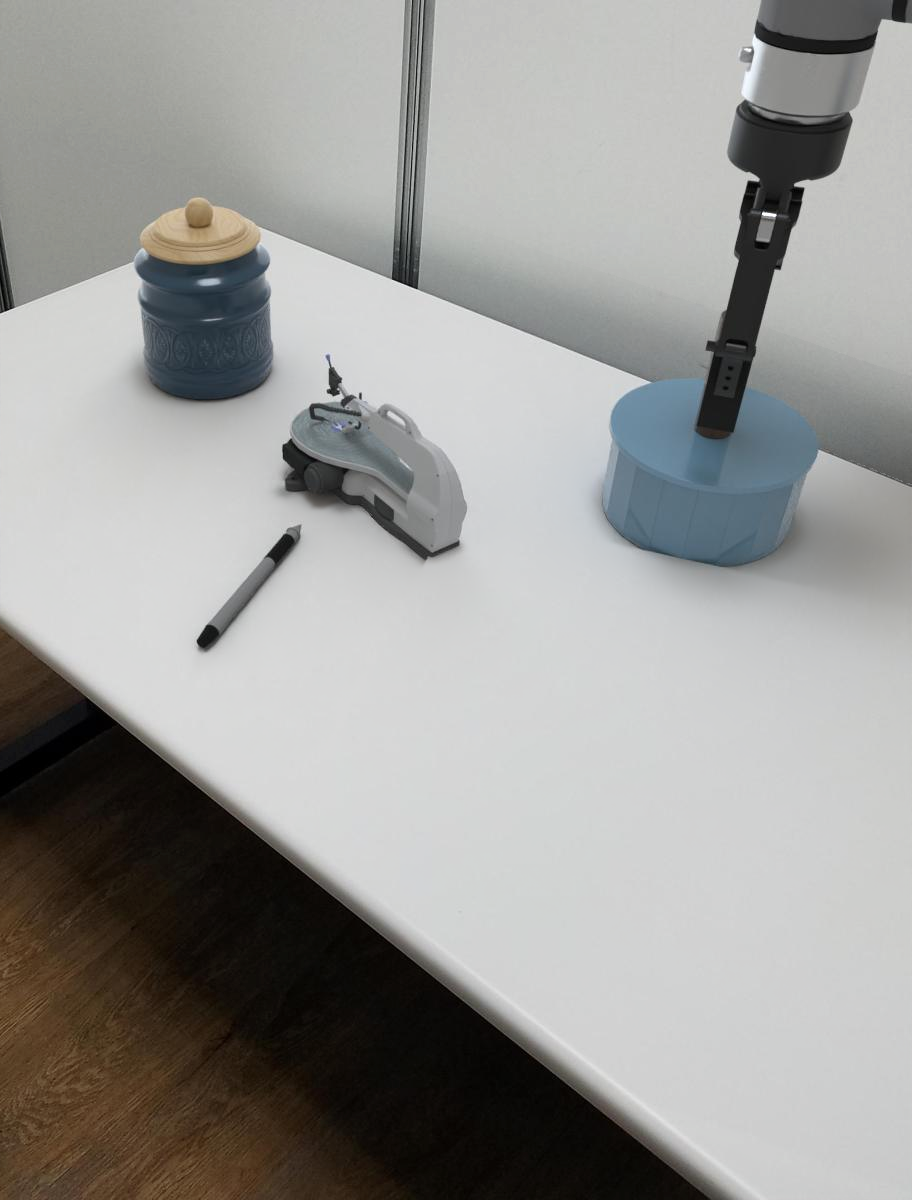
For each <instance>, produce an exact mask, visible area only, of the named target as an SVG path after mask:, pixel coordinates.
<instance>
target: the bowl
mask: <svg viewBox="0 0 912 1200" xmlns="http://www.w3.org/2000/svg"><path fill="white" fill-rule="evenodd" d="M807 475H808V473H807V474H806V475H805V476H803V477H802V478H801V479H799V480H798V481H796V482H794V483H792V484H790V485H788V486H785V487H782V488H780V489H776V490H772V491H768V492H761V493H753V494H723V493H712V492H706V491H700V490H695V489H691V488H687V487H683V486H680V485H677V484H673V483H670V482H668V481H665V480H663V479H660V478H658V477H656V476H654V475H652V474H650V473H648V472H646V471H644V470H643V469H641V468H640V467H638V466H636V465H635V464H634V463H632V462H631V461H630V460H629V459H627V458H626V457H625V456H624V455H623V454H622V453H621V452H620V450H619V449H618V448H617V446H616V445H615V443H614V441H613V439H612V438H611V445H610V449H609V454H608V461H607V465H606V471H605V476H604V482H603V487H602V491H601V499H602V501H601V502H602V503H601V504H602V508H603V512H604V514H605V516H606V519H607V520H608V522H609V523H610V525H611V526H612V527H613V528H614V530H616V532H618V534H620V535H621V536H622V537H623V538H624V539H625V540H627V541H629V542H630V543H631V544H633V545H634V546H635V547H637V548H640V549H641V550H643V551H646V552H650V553H656V554H660V555H665V556H669V557H673V558H677V559H682V560H686V561H687V560H688V561H692V562H696V563H701V564H706V565H710V566H714V567H732V566H740V565H744V564H748V563H753V562H755V561H757V560H760V559H762V558H764V557H767V556H768V555H770V554H771V553H772V552H774V551H775V550H777V549H778V548H779V546H780V545H782V543H783V541H784V540H785V538H786V536H787V535H788V533H789V532H790V531H789V530H790V527H791V524H792V521H793V518H794V515H795V512H796V508H797V505H798V503H799V499H800V496H801V493H802V490H803V488H804V485H805V482H806V477H807Z"/></svg>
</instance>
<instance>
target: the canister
mask: <svg viewBox="0 0 912 1200" xmlns="http://www.w3.org/2000/svg"><path fill="white" fill-rule="evenodd" d="M261 239H262V233H261V229H260V228H259V226H258V225H257V224H256V223H254V222H253V221H252V220H251V219H248V218H246V217H244V216H243V215H241V214H240V213H239V212H237V211H235V210H232V209H230V208H227V207H222V206H215V205H212V204H211V203H210V202H209V201H208V200H207V199H206V198H204V197H194V198H191V199H189V200H188V202H187V203H186V205H185V206H183V207H179V208H176V209H173V210H170V211H167V212H165V213H163V214H161V215H160V216H158V218H157V219H156V220H154V221H152V222H151V223H150V224H147V226H146V227H145V228H143V230H142V231H141V233H140V236H139V242H140V245H141V248H140V249H139V251H137V253H136V255H135V257H134V259H133V268H134V271H135V273H136V275H137V276H138V278H140V286H139V288H138V290H137V302H138V305H139V307H140V316H141V317H140V318H141V326H142V336H143V344H144V345H143V351H142V353H143V363H144V364H145V368H146V369H147V373H148V377H149V379H150V380H151V382H152V383H153V384H154V385H155V386H156V387H158V388H159V389H161V390H162V391H164V392H166V393H169V394H170V395H174V396H176V397H177V396H178V397H181V398H186V399H194V400H216V399H218V400H219V399H225V398H230V397H235V396H238V395H241V394H244V393H246V392H248V391H251V390H252V389H254V388H256V387H258V386H259V385H260V384H262V383H263V382H264V381H265V380H266V379H267V377H268V376H269V375H270V372H271V369H272V364H273V363H272V362H273V358H274V343H273V340H272V330H271V329H272V328H271V327H272V326H271V296H272V288H271V284H270V282H269V281H268V279H267V276H266V272H267V270H268V269H269V267H270V266H271V265H270V264H271V255H270V252H269V250H268V248H267V247H266V246H265V245H264V244H263V243H261V242H260V241H261Z"/></svg>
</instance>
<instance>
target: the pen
mask: <svg viewBox="0 0 912 1200" xmlns="http://www.w3.org/2000/svg"><path fill="white" fill-rule="evenodd" d="M302 524H303V523H301V524H297V525H295V526H292V527H291V526H290V527H288V528H287V529H286V530H285V533H283V534H282V536H281V537H280V538H279V539H278V540H277V542H276V543H275V544H274V545H273V547H272V548H271V549H270V550H269V551H268V553H267V554H266V555H265V556H264V557H263V558H262V560H261V561H260V562H259V563H258V565H257V566H256V567H255V568H254V569H253V571H252V572H251V573H250V574H249V575H248V577H246V579H244V581H243V582H242V583H241V585H240V586H239V587H238V588H237V589H236V590H235V591H234V593H233V594H232V595H231V596H230V597H229V599H228V600H227V601H226V602H225V603H224V604H223V605H222V607H220V609H219V610H218V611H217V613H216V614H215V615H214V616H213V617H212V618H211V619H210V620H209V622H208V623H207V624H206V625H205V626H204V628H203V629H202V631H201V632H200V634H199V636H198V638H197V639H196V644H197V646H198V647H200V648H202V649H206V648H208V647H209V646H210V645H211V644H212V643H213V642H214V641H215V640H217V638H219V637H220V636H221V634H222V633H223V631H224V630H225V629H226V628H227V626H228V625H229V624H230V623H231V621H232V620H233V619H234V617H236V615H237V614H238V613H239V611H240V610H241V609H242V608H243V606H244V605H245V604H246V603H247V602H248V600H249V599H250V598H251V597H252V595H254V593H255V592H256V591H257V589H258V588H259V587H260V586H261V585H262V583H263V582H264V581H265V580H266V578H267V577H268V576H269V575H270V573H271V572H272V571H273V570H274V569H275V568H276V566H277V565H278V564H279V563H280V562H281V560H282V559H283V558H284V557H285V556H286V554H287V553H288V552H289V551H290V550H291V548H292V547H293V546H294V545H295V544H296V542H297V541H299V540H300V539H301V530H302Z"/></svg>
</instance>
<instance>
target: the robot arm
mask: <svg viewBox="0 0 912 1200" xmlns="http://www.w3.org/2000/svg"><path fill="white" fill-rule="evenodd" d="M882 20H885V21H893V22H894V23H895V22H896V23H902V24H912V0H760V3H759V9H758V14H757V16H756V20H755V25H754V32H753V33H754V34H753V36H752V40H751V44H752V46H743V47H741V48H740V50H739V51H738V57H737V59H738V60H739V61H740V62H741V63H746V64H748V65H747V67H746V68H745V70H744V75H743V80H742V85H741V89H740V92H741V93H740V94H741V96H742V98H744V100H742V101H741V103H738V105H737V106H736V108H735V113H734V118H733V122H732V127H731V131H730V136H729V141H728V145H727V150H726V154H727V159H728V160H729V162H730V163H731V165H733V166H734V167H735V168H737V169H738V170H740V171H742V172H744V173H750V174H751V175H753V176H755V177H757V178H758V181H756V180H749V179H748V180H747V182H746V186H745V191H744V193H743V197H742V200H741V204H740V209H739V214H738V219H739V221H740V224H739V228H738V232H737V235H736V240H735V244H734V247H733V256H734V257H735V258H736V259H737V260H738V262H737V266H736V270H735V273H734V277H733V281H732V285H731V289H730V293H729V298H728V302H727V306H726V309H725V310H726V314H725V318H724V322H723V326H722V330H721V334H720V338H719V339H718V340H717V342H715V341H714V340H709V339H708V340H707V341H706V346H705V351H707V352H711V353H712V352H714V355H713V359H712V363H711V367H710V371H709V376H708V380H707V384H706V388H705V392H704V396H703V401H702V405H701V409H700V413H699V417H698V421H697V426H699V427H704V428H709V429H715V430H720V431H725V432H731V433H734V429H735V425H736V422H737V418H738V414H739V410H740V407H741V403H742V399H743V395H744V391H745V388H746V387H747V383H748V379H749V376H750V372H751V368H752V364H753V361H754V358H756V354H757V342H758V338H759V334H760V330H761V325H762V321H763V317H764V314H765V310H766V305H767V302H768V298H769V294H770V290H771V286H772V282H773V279H774V275H775V270H776V271H782V267H783V263H784V259H785V257H786V254H787V249H788V245H789V242H790V237H791V233H792V230H793V228H794V227H796V225H797V223H798V220H799V217H800V213H801V209H802V205H803V197H804V195H805V194H804V193H805V191H806V190H805V189H806V187H804V186H797V185H795V184H797V183H800V182H805V181H808V180H809V181H817V180H820V179H824V178H827V177H829V176H831V175H833V174H834V173H835V172H837V170H838V169H839V168H840V166H841V164H842V160H843V157H844V154H845V149H846V146H847V143H848V139H849V136H850V133H851V128H852V125H853V117H852V115H851V113H850V112H851V111H853V110H855V109H856V108H857V106H858V105H859V104H860V101H861V98H862V95H863V94H862V93H863V91H864V87H865V82H866V80H867V75H868V72H869V69H870V65H871V61H872V57H873V54H874V51H875V48H876V47H875V46H876V43H877V37H878V33H879V28H880V25H881V22H882Z"/></svg>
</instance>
